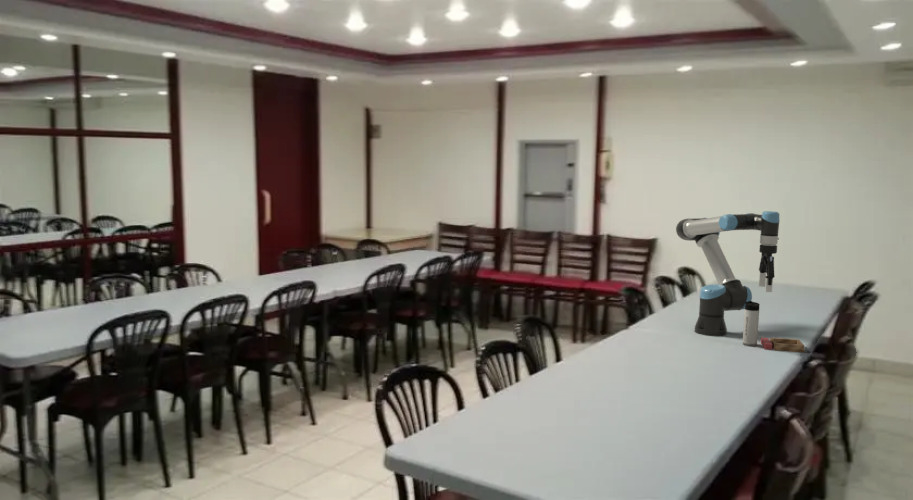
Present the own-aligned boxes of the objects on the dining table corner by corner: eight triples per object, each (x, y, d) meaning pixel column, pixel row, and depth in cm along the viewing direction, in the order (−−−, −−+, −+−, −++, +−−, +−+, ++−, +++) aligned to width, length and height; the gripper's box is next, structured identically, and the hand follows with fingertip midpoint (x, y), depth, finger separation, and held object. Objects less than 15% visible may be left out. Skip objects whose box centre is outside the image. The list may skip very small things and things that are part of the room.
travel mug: (754, 343, 333) (757, 301, 331) (758, 346, 327) (761, 303, 324) (740, 342, 334) (743, 300, 331) (744, 346, 327) (747, 303, 325)
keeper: (773, 350, 320) (774, 343, 320) (768, 343, 333) (769, 337, 332) (805, 352, 317) (805, 346, 317) (798, 345, 330) (799, 339, 329)
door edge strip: (764, 349, 322) (765, 343, 322) (760, 342, 334) (761, 337, 333) (772, 349, 321) (772, 344, 321) (767, 343, 333) (767, 338, 333)
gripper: (783, 248, 320) (780, 294, 323) (770, 241, 344) (767, 284, 347) (766, 247, 321) (762, 293, 324) (754, 241, 345) (751, 283, 348)
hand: (765, 289), depth 336 cm, fingers open, 13 cm apart
